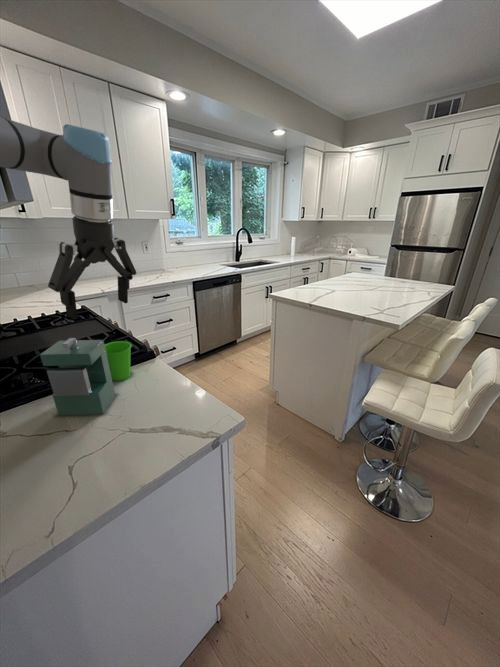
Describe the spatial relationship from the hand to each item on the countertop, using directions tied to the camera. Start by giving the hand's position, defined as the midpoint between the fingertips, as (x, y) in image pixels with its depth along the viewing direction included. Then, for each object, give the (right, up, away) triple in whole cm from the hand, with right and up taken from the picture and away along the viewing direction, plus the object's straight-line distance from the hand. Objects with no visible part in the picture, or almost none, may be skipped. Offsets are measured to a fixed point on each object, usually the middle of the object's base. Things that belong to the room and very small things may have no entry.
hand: (99, 308), depth 68 cm
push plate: (-6, -21, -1) cm, 22 cm away
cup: (-4, -21, +20) cm, 29 cm away
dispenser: (-6, -26, +6) cm, 27 cm away
